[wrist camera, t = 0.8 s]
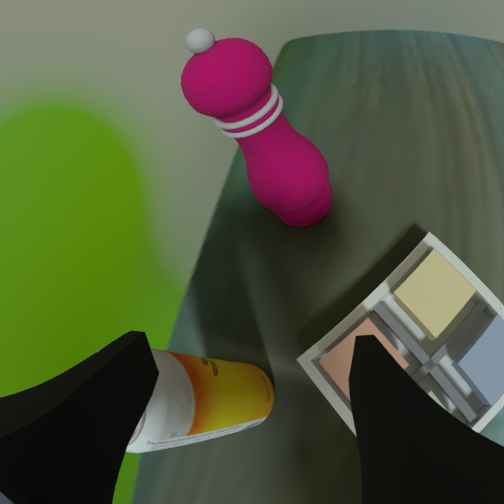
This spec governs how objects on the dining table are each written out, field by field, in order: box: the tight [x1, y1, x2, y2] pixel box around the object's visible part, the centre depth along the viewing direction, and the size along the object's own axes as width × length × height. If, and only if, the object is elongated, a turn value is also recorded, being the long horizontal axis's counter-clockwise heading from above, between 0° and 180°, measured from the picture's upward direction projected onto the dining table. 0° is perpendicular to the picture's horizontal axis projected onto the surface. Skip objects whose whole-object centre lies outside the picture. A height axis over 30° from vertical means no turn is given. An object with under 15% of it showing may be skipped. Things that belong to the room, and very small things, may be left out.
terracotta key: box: [319, 318, 409, 400], centre depth 18 cm, size 4×4×2 cm
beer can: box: [97, 348, 274, 453], centre depth 18 cm, size 6×6×15 cm
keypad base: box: [296, 232, 504, 437], centre depth 17 cm, size 14×14×2 cm
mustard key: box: [393, 249, 476, 341], centre depth 17 cm, size 4×4×2 cm
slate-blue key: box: [451, 314, 504, 406], centre depth 13 cm, size 4×4×2 cm
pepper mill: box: [181, 28, 333, 227], centre depth 21 cm, size 7×7×20 cm
